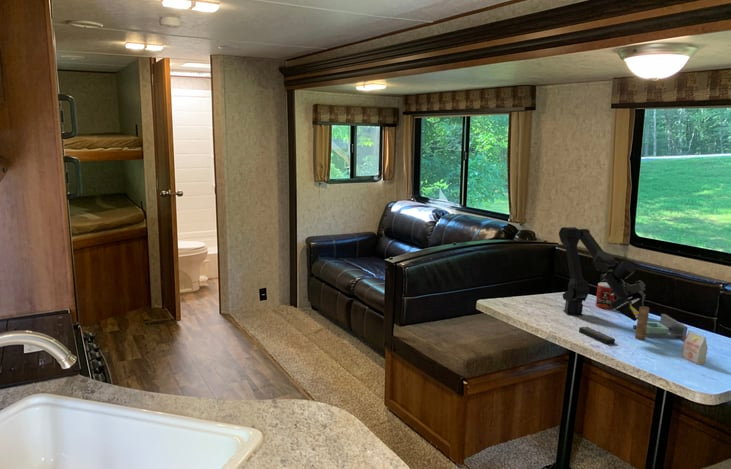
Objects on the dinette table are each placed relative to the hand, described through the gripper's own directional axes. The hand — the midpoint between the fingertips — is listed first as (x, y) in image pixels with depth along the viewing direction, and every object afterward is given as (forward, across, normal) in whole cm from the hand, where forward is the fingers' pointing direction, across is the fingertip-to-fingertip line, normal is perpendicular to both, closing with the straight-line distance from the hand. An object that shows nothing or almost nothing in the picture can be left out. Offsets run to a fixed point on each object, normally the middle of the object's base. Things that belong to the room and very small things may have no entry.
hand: (641, 318), depth 218 cm
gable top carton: (+22, -5, -9) cm, 24 cm away
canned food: (-15, +30, +27) cm, 43 cm away
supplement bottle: (-5, +28, +17) cm, 33 cm away
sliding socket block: (+6, +12, +5) cm, 14 cm away
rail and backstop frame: (+7, +13, +5) cm, 15 cm away
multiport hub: (-1, -14, +13) cm, 19 cm away
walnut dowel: (+6, 0, +6) cm, 8 cm away
